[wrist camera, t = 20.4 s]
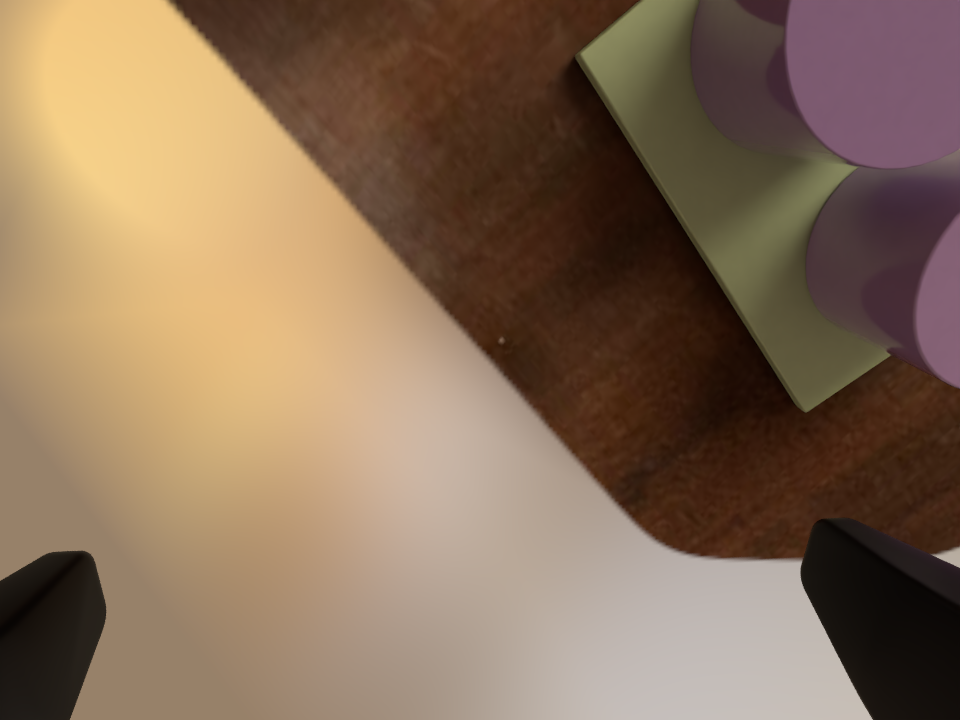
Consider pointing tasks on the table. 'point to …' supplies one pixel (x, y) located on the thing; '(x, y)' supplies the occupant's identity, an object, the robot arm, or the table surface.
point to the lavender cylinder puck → (894, 263)
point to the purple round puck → (832, 78)
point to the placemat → (728, 197)
